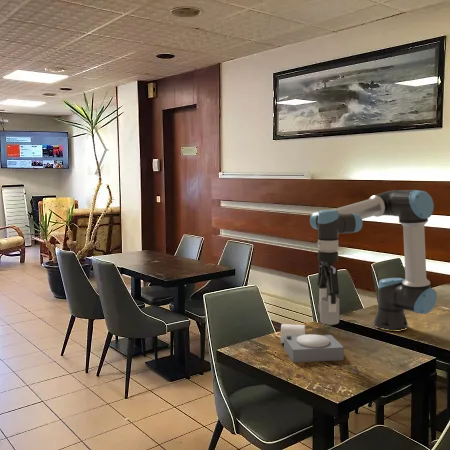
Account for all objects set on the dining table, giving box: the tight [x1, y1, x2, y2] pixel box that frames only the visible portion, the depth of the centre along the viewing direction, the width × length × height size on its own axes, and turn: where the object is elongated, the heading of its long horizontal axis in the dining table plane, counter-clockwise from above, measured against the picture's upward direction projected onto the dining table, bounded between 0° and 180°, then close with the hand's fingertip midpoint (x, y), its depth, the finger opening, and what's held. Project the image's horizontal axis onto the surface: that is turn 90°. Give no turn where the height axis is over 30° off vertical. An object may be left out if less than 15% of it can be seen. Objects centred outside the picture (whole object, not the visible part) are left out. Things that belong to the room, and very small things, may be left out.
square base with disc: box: [283, 333, 345, 363], centre depth 195 cm, size 20×15×6 cm
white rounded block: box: [280, 323, 306, 344], centre depth 210 cm, size 12×10×8 cm
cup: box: [318, 296, 340, 326], centre depth 187 cm, size 7×10×9 cm
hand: (327, 308), depth 187 cm, fingers closed on cup, 10 cm apart
